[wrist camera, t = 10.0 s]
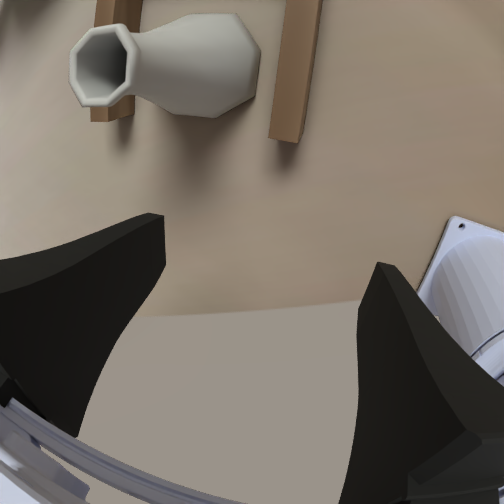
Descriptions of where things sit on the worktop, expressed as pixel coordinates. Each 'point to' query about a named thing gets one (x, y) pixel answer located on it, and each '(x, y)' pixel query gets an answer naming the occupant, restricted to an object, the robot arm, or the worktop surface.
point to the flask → (169, 65)
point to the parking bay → (288, 74)
